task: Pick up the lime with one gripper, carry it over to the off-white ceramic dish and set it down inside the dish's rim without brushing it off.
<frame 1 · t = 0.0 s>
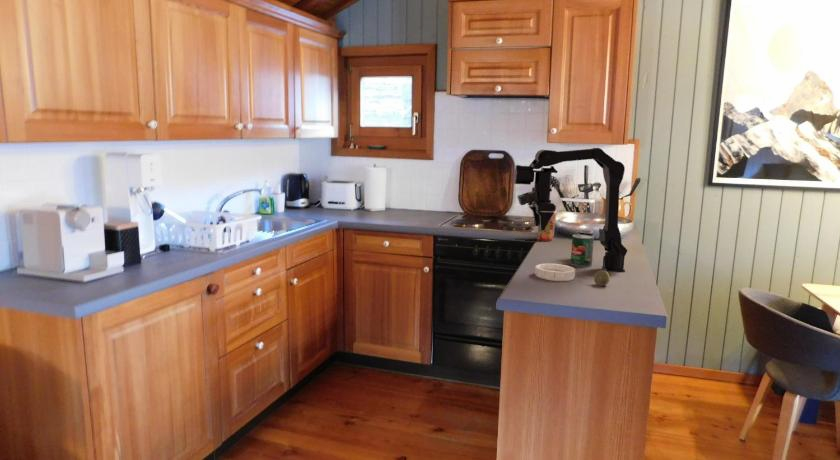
hand: (539, 228, 209), 15 cm above the worktop, fingers open, 9 cm apart
canned tomato: (580, 265, 219), on the worktop
lime: (601, 285, 189), on the worktop
ceramic dish: (554, 276, 199), on the worktop
beverage can: (583, 259, 229), on the worktop
smoothie: (545, 240, 268), on the worktop
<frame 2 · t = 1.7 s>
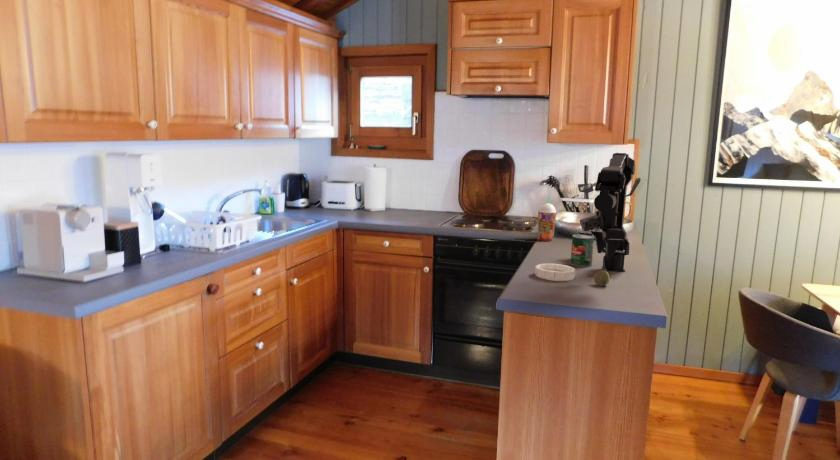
hand: (604, 256, 188), 10 cm above the worktop, fingers open, 9 cm apart
nothing on the worktop moved.
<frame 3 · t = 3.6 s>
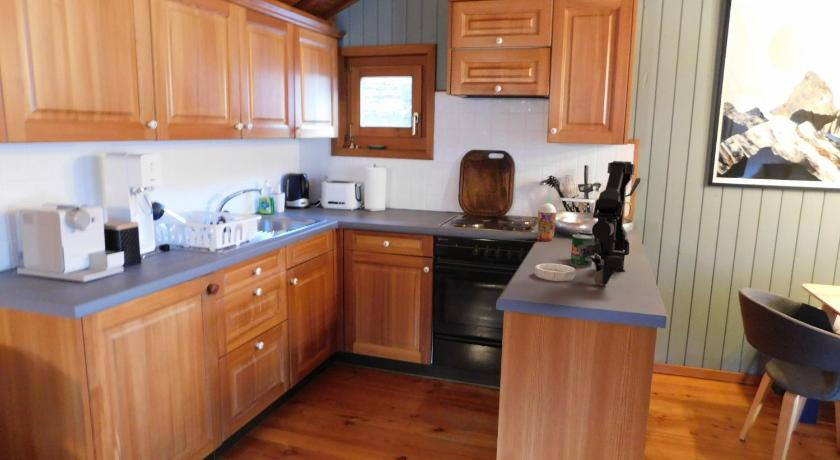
hand: (601, 282, 189), 1 cm above the worktop, fingers closed on lime, 5 cm apart
lime: (601, 285, 189), on the worktop, touching gripper
everything else where it was.
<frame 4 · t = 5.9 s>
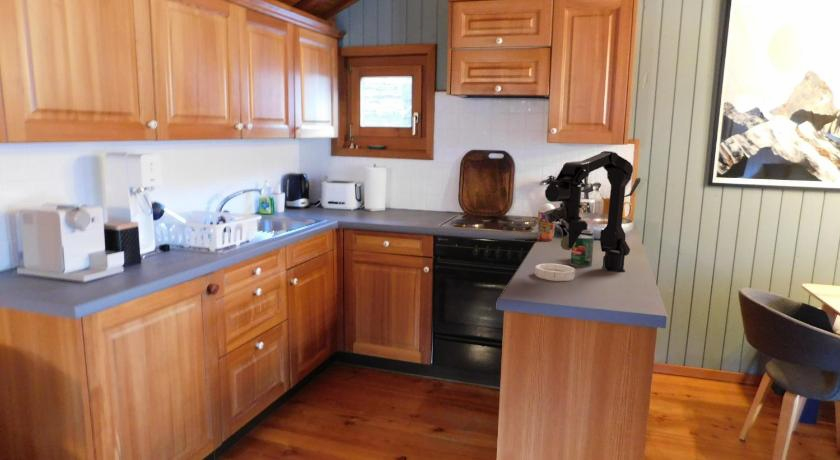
hand: (567, 246, 195), 11 cm above the worktop, fingers closed on lime, 5 cm apart
lime: (567, 250, 195), point 10 cm above the worktop, touching gripper
everything else where it was.
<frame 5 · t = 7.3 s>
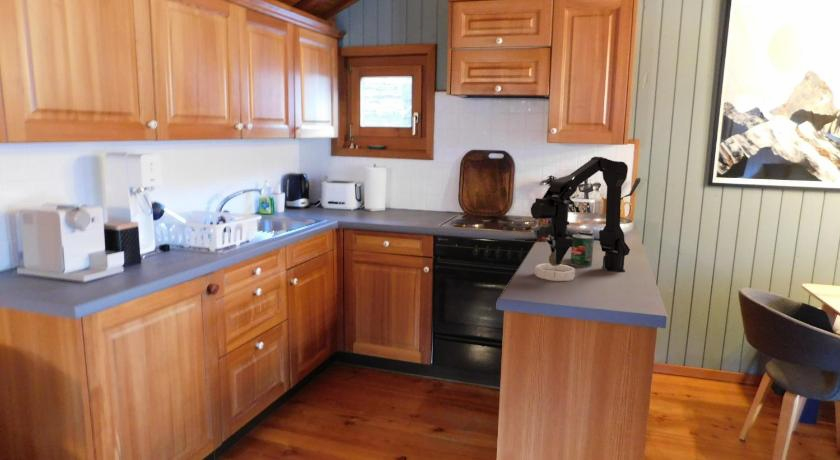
hand: (556, 262, 198), 5 cm above the worktop, fingers closed on lime, 5 cm apart
lime: (555, 266, 199), point 4 cm above the worktop, touching gripper
everything else where it was.
when the fingers open (3 cm above the worktop, at t = 8.4 s): lime drops 1 cm, resting on ceramic dish.
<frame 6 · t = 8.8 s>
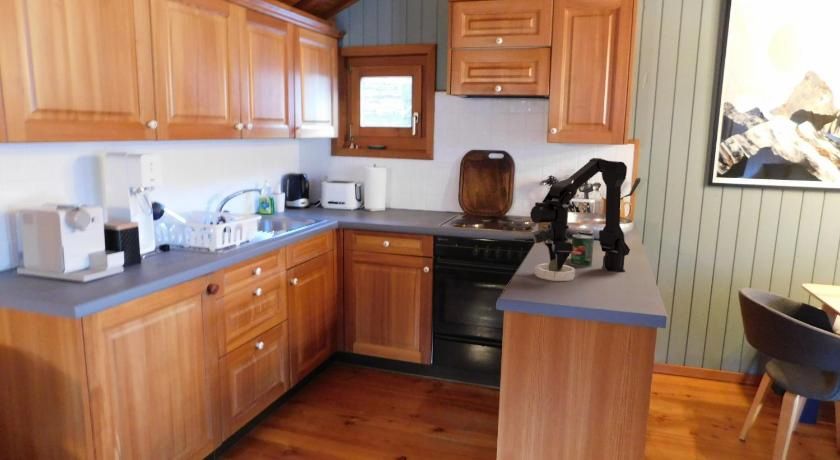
hand: (555, 266, 198), 3 cm above the worktop, fingers open, 9 cm apart
lime: (554, 274, 199), point 1 cm above the worktop, touching ceramic dish
everything else where it was.
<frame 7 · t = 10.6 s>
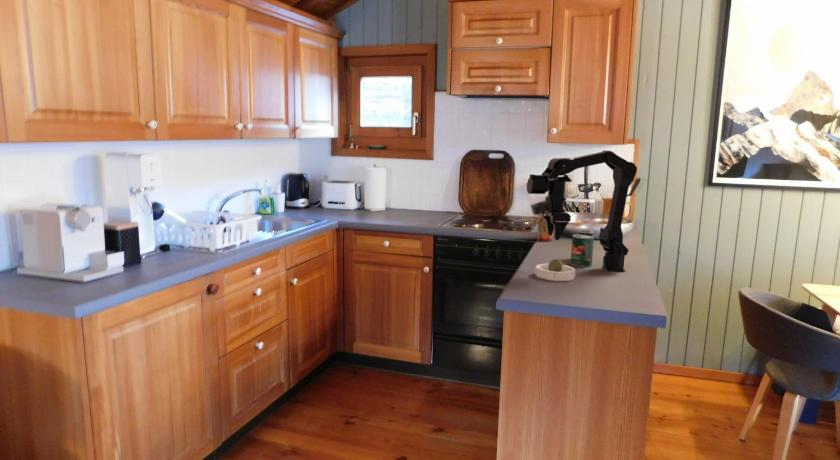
hand: (553, 237, 206), 12 cm above the worktop, fingers open, 9 cm apart
nothing on the worktop moved.
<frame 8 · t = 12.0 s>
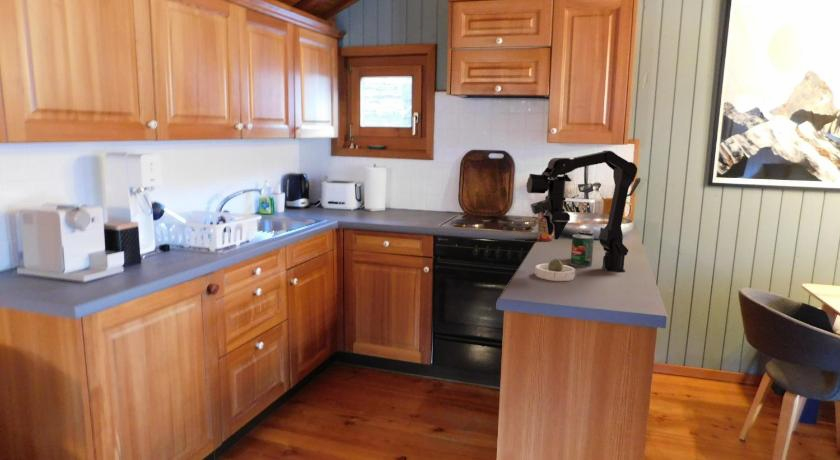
hand: (552, 237, 207), 12 cm above the worktop, fingers open, 9 cm apart
nothing on the worktop moved.
at the end: lime inside the target area on the ceramic dish (0.0 cm from its centre), point 0.8 cm above the ceramic dish's base; the gripper is holding nothing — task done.
